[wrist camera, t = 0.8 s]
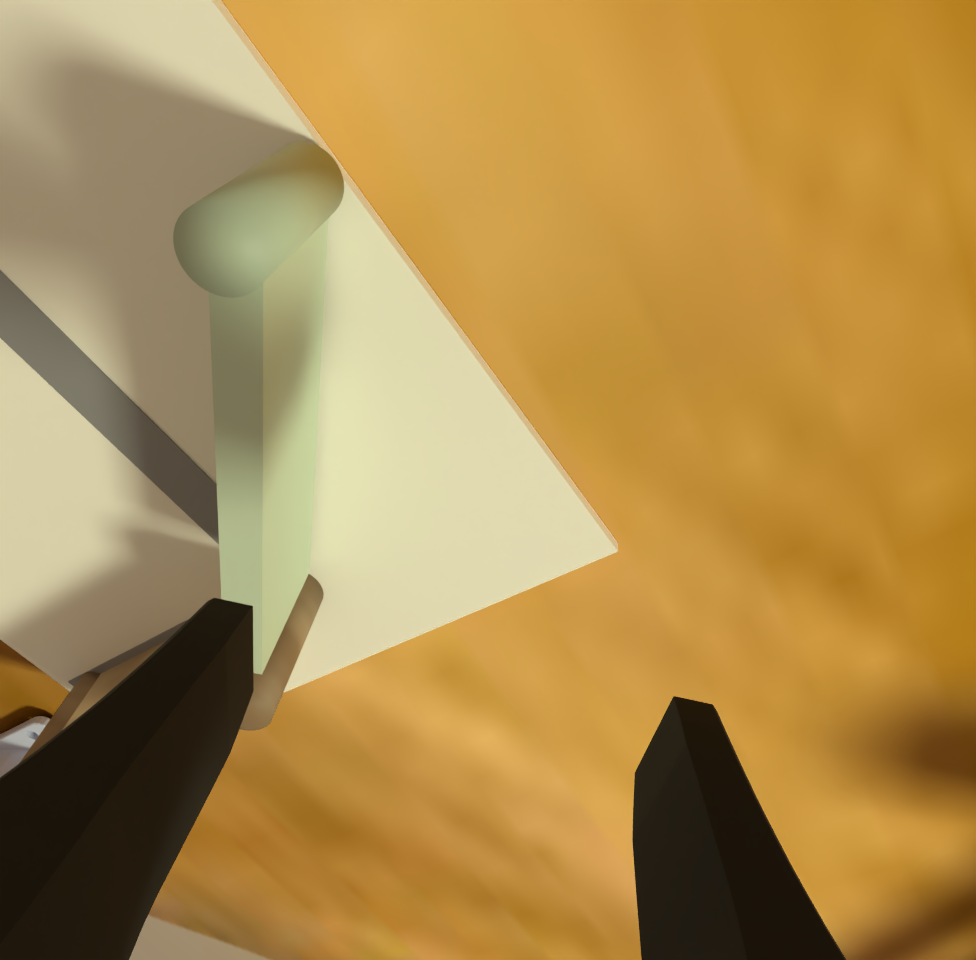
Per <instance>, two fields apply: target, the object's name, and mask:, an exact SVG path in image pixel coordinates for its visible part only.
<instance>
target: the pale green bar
mask: <svg viewBox="0 0 976 960" xmlns="http://www.w3.org/2000/svg"><path fill="white" fill-rule="evenodd" d="M343 194H344V181H343V176H342V173H341V170H340V168H339V166H338V164H337V163H336V161H335V160H334V159H333V157H332V156H331V155H330V154H329V153H328V152H326V151H325V150H324V149H322V148H321V147H319V146H317V145H314V144H311V143H307V142H296V143H292V144H289V145H287V146H285V147H284V148H282V149H281V150H279V151H277V152H276V153H274V154H273V155H271V156H269V157H268V158H266V159H265V160H263V161H261V162H260V163H258V164H257V165H255V166H253V167H252V168H250V169H249V170H247V171H245V172H244V173H242V174H241V175H239V176H237V177H236V178H234V179H233V180H231V181H229V182H228V183H226V184H225V185H223V186H221V187H220V188H218V189H217V190H215V191H213V192H212V193H210V194H209V195H207V196H206V197H204V198H202V199H201V200H199V201H198V202H196V203H194V204H193V205H191V206H190V207H188V208H187V209H185V210H184V211H183V212H182V213H181V215H180V216H179V218H178V219H177V222H176V224H175V227H174V233H173V243H174V249H175V253H176V256H177V258H178V261H179V263H180V265H181V266H182V268H183V269H184V271H185V272H186V274H187V275H188V276H189V277H190V278H191V279H192V280H193V281H194V282H195V283H196V284H197V285H199V286H200V287H201V288H203V289H204V290H206V291H208V292H209V311H210V336H211V360H212V384H213V409H214V433H215V457H216V482H217V506H218V530H219V555H220V579H221V599H223V600H228V601H232V602H237V603H242V604H246V605H251V606H253V673H256V674H261V675H262V673H263V671H264V669H265V667H266V665H267V663H268V661H269V658H270V656H271V654H272V652H273V650H274V648H275V645H276V643H277V641H278V639H279V637H280V635H281V632H282V630H283V628H284V626H285V624H286V622H287V620H288V617H289V615H290V613H291V611H292V609H293V607H294V604H295V602H296V600H297V598H298V596H299V594H300V591H301V589H302V587H303V585H304V583H305V581H306V578H307V576H308V574H309V572H310V556H311V537H312V519H313V500H314V482H315V463H316V444H317V426H318V407H319V389H320V370H321V351H322V333H323V314H324V296H325V277H326V259H327V240H328V221H329V217H330V216H331V215H332V214H333V213H334V212H335V211H336V210H337V208H338V207H339V205H340V203H341V201H342V198H343Z"/></svg>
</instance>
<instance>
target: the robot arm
mask: <svg viewBox="0 0 976 960" xmlns="http://www.w3.org/2000/svg"><path fill="white" fill-rule="evenodd" d="M253 691H254V681H253V606H251V605H246V604H242V603H237V602H232V601H228V600H223V599H218V598H213V599H211V600H209V601H207V602H206V603H205V604H204V605H203V606H202V607H201V608H200V609H199V610H198V611H197V612H196V613H195V614H194V615H193V616H192V617H191V618H190V619H189V620H188V621H187V622H186V623H185V624H184V625H183V626H181V627H180V628H179V629H178V630H177V631H176V632H175V633H174V634H173V635H172V636H171V637H170V638H169V639H168V640H167V641H166V642H165V643H164V644H162V645H161V646H160V647H159V648H158V649H157V650H156V651H155V652H154V653H153V654H152V655H150V656H149V657H148V658H147V659H146V660H145V661H144V662H143V663H142V664H141V665H139V666H138V667H137V668H136V669H135V670H134V671H133V672H131V673H130V674H129V675H128V676H127V677H126V678H125V679H123V680H122V681H121V682H120V683H119V684H118V685H116V686H115V687H114V688H113V689H112V690H111V691H110V692H108V693H107V694H106V695H105V696H104V697H103V698H101V699H100V700H99V701H98V702H97V703H96V704H94V705H93V706H92V707H91V708H90V709H88V710H87V711H86V712H85V713H83V714H82V715H81V716H80V717H78V718H77V719H76V720H75V721H73V722H72V723H71V724H69V725H68V726H67V727H66V728H64V729H63V730H62V731H61V732H59V733H58V734H57V735H56V736H54V737H53V738H52V739H51V740H49V741H48V742H47V743H46V744H44V745H43V746H42V747H40V748H39V749H38V750H37V751H35V752H34V753H33V754H31V755H30V756H29V757H27V758H26V759H25V760H23V761H22V762H21V763H20V761H21V760H22V759H23V757H24V756H25V754H26V753H27V752H28V750H29V749H30V747H31V746H32V745H33V743H34V742H35V740H36V739H37V738H38V736H39V735H40V733H41V732H42V731H43V729H44V728H45V726H46V725H47V723H48V722H49V721H50V718H47V717H44V716H37V717H34V718H32V719H30V720H28V721H26V722H24V723H22V724H20V725H18V726H16V727H14V728H12V729H10V730H8V731H6V732H4V733H2V734H0V960H129V958H130V956H131V953H132V951H133V948H134V946H135V944H136V941H137V939H138V936H139V933H140V931H141V929H142V927H143V924H144V922H145V920H146V918H147V916H148V914H149V912H150V910H151V907H152V905H153V903H154V901H155V899H156V897H157V895H158V893H159V891H160V889H161V887H162V885H163V883H164V881H165V879H166V877H167V875H168V873H169V871H170V869H171V867H172V865H173V863H174V862H175V860H176V858H177V856H178V854H179V852H180V850H181V848H182V846H183V844H184V842H185V840H186V838H187V836H188V834H189V832H190V831H191V829H192V827H193V825H194V823H195V821H196V819H197V817H198V815H199V813H200V811H201V809H202V807H203V805H204V803H205V801H206V799H207V797H208V796H209V794H210V792H211V790H212V788H213V786H214V784H215V782H216V780H217V778H218V776H219V774H220V772H221V770H222V768H223V766H224V764H225V762H226V760H227V758H228V756H229V754H230V752H231V749H232V747H233V744H234V741H235V739H236V736H237V734H238V731H239V729H240V726H241V723H242V721H243V718H244V715H245V713H246V710H247V707H248V705H249V702H250V699H251V697H252V694H253ZM633 852H634V866H635V880H636V893H637V906H638V919H639V931H640V944H641V956H642V960H846V958H845V957H844V955H843V954H842V952H841V950H840V949H839V947H838V946H837V944H836V942H835V941H834V939H833V937H832V936H831V934H830V932H829V931H828V929H827V927H826V926H825V924H824V922H823V920H822V919H821V917H820V915H819V913H818V912H817V910H816V908H815V907H814V905H813V903H812V901H811V900H810V898H809V896H808V894H807V893H806V891H805V889H804V887H803V886H802V884H801V882H800V880H799V878H798V876H797V875H796V873H795V871H794V869H793V867H792V865H791V864H790V862H789V860H788V858H787V856H786V854H785V852H784V850H783V848H782V846H781V844H780V843H779V841H778V839H777V837H776V835H775V833H774V831H773V829H772V827H771V825H770V823H769V821H768V819H767V817H766V815H765V813H764V811H763V809H762V807H761V805H760V803H759V801H758V799H757V797H756V795H755V793H754V791H753V789H752V787H751V785H750V783H749V780H748V778H747V776H746V774H745V772H744V770H743V768H742V766H741V763H740V761H739V759H738V757H737V755H736V753H735V750H734V748H733V746H732V744H731V742H730V739H729V737H728V735H727V733H726V731H725V728H724V726H723V724H722V722H721V719H720V717H719V715H718V713H717V711H716V709H715V708H714V706H713V705H712V704H708V703H703V702H698V701H694V700H689V699H684V698H680V697H675V696H674V697H673V699H672V701H671V703H670V705H669V707H668V709H667V711H666V713H665V715H664V716H663V718H662V720H661V722H660V724H659V726H658V728H657V730H656V732H655V734H654V736H653V738H652V740H651V742H650V744H649V746H648V748H647V750H646V752H645V754H644V756H643V758H642V760H641V762H640V764H639V766H638V768H637V770H636V772H635V785H634V807H633Z"/></svg>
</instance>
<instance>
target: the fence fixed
mask: <svg viewBox="0 0 976 960" xmlns="http://www.w3.org/2000/svg"><path fill="white" fill-rule="evenodd" d="M323 596H324V593H323V589H322V587H321V585H320V583H319V582H318V581H317V580H316V579H315V578H314V577H313V576H312V575H310V574H308V576H307V578H306V581H305V583H304V585H303V587H302V589H301V591H300V594H299V596H298V598H297V600H296V602H295V604H294V607H293V609H292V611H291V613H290V615H289V617H288V620H287V622H286V624H285V626H284V628H283V630H282V632H281V635H280V637H279V639H278V641H277V643H276V645H275V648H274V650H273V652H272V654H271V656H270V658H269V661H268V663H267V665H266V667H265V669H264V671H263V673H262V675H261V674H256V673H253V681H254V691H253V694H252V697H251V699H250V702H249V705H248V707H247V710H246V713H245V715H244V718H243V721H242V723H241V726H240V729H241V730H259V729H262V728H264V727H266V726H268V725H269V724H270V722H271V720H272V718H273V716H274V713H275V711H276V709H277V706H278V704H279V702H280V699H281V697H282V694H283V692H284V690H285V687H286V685H287V683H288V680H289V678H290V676H291V673H292V671H293V669H294V666H295V664H296V661H297V659H298V657H299V654H300V652H301V650H302V647H303V645H304V643H305V640H306V638H307V635H308V633H309V631H310V628H311V626H312V624H313V621H314V619H315V617H316V614H317V612H318V609H319V607H320V605H321V602H322V600H323ZM166 641H167V640H166ZM166 641H164V642H162V643H160V644H158V645H156V646H154V647H152V648H150V649H148V650H146V651H144V652H142V653H140V654H138V655H136V656H134V657H132V658H130V659H128V660H126V661H124V662H123V663H121V664H119V665H117V666H115V667H113V668H111V669H109V670H107V671H105V672H103V673H97V672H88V673H85V674H83V675H82V676H81V677H80V679H79V680H78V681H77V683H76V684H75V686H74V687H73V688H72V690H71V691H70V693H69V694H68V695H67V697H66V698H65V700H64V701H63V702H62V704H61V705H60V707H59V708H58V709H57V711H56V712H55V714H54V715H53V716H52V718H51V719H50V721H49V722H48V723H47V725H46V726H45V728H44V729H43V731H42V732H41V733H40V735H39V736H38V738H37V739H36V740H35V742H34V743H33V745H32V746H31V747H30V749H29V750H28V752H27V753H26V754H25V756H24V757H23V759H22V760H21V761H20V763H21V762H22V761H23V760H25V759H26V758H27V757H29V756H30V755H31V754H33V753H34V752H35V751H37V750H38V749H39V748H40V747H42V746H43V745H44V744H46V743H47V742H48V741H49V740H51V739H52V738H53V737H54V736H56V735H57V734H58V733H59V732H61V731H62V730H63V729H64V728H66V727H67V726H68V725H69V724H71V723H72V722H73V721H75V720H76V719H77V718H78V717H80V716H81V715H82V714H83V713H85V712H86V711H87V710H88V709H90V708H91V707H92V706H93V705H94V704H96V703H97V702H98V701H99V700H100V699H101V698H103V697H104V696H105V695H106V694H107V693H108V692H110V691H111V690H112V689H113V688H114V687H115V686H116V685H118V684H119V683H120V682H121V681H122V680H123V679H125V678H126V677H127V676H128V675H129V674H130V673H131V672H133V671H134V670H135V669H136V668H137V667H138V666H139V665H141V664H142V663H143V662H144V661H145V660H146V659H147V658H148V657H149V656H150V655H152V654H153V653H154V652H155V651H156V650H157V649H158V648H159V647H160V646H161V645H162V644H164V643H165V642H166Z"/></svg>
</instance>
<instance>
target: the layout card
mask: <svg viewBox="0 0 976 960" xmlns="http://www.w3.org/2000/svg"><path fill="white" fill-rule="evenodd" d="M296 142H307V143H311V144H314V145H317V146H319V147H321V148H322V149H324V150H325V151H326V152H328V153H329V154H330V155H331V156H332V157H333V159H334V160H335V161H336V163H337V164H338V166H339V168H340V170H341V173H342V176H343V181H344V194H343V198H342V201H341V203H340V205H339V207H338V208H337V210H336V211H335V212H334V213H333V214H332V215H331V216H330V217H329V221H328V240H327V259H326V277H325V296H324V314H323V333H322V351H321V370H320V389H319V407H318V426H317V444H316V463H315V482H314V500H313V519H312V537H311V556H310V572H309V574H310V575H312V576H313V577H314V578H315V579H316V580H317V581H318V582H319V583H320V585H321V587H322V589H323V593H324V596H323V600H322V602H321V605H320V607H319V609H318V612H317V614H316V617H315V619H314V621H313V624H312V626H311V628H310V631H309V633H308V635H307V638H306V640H305V643H304V645H303V647H302V650H301V652H300V654H299V657H298V659H297V661H296V664H295V666H294V669H293V671H292V673H291V676H290V678H289V680H288V683H287V685H286V687H285V690H284V692H286V691H289V690H291V689H294V688H296V687H298V686H301V685H303V684H305V683H308V682H310V681H312V680H315V679H317V678H320V677H322V676H324V675H327V674H329V673H331V672H334V671H336V670H338V669H341V668H343V667H346V666H348V665H350V664H353V663H355V662H357V661H360V660H362V659H365V658H367V657H369V656H372V655H374V654H376V653H379V652H381V651H383V650H386V649H388V648H391V647H393V646H395V645H398V644H400V643H402V642H405V641H407V640H409V639H412V638H414V637H417V636H419V635H421V634H424V633H426V632H428V631H431V630H433V629H436V628H438V627H440V626H443V625H445V624H447V623H450V622H452V621H454V620H457V619H459V618H462V617H464V616H466V615H469V614H471V613H473V612H476V611H478V610H481V609H483V608H485V607H488V606H490V605H492V604H495V603H497V602H499V601H502V600H504V599H507V598H509V597H511V596H514V595H516V594H518V593H521V592H523V591H525V590H528V589H530V588H533V587H535V586H537V585H540V584H542V583H544V582H547V581H549V580H552V579H554V578H556V577H559V576H561V575H563V574H566V573H568V572H570V571H573V570H575V569H578V568H580V567H582V566H585V565H587V564H589V563H592V562H594V561H597V560H599V559H601V558H604V557H606V556H608V555H611V554H613V553H615V552H618V542H617V541H616V540H615V538H614V537H613V535H612V534H611V533H610V531H609V530H608V529H607V527H606V526H605V525H604V523H603V522H602V520H601V519H600V518H599V516H598V515H597V514H596V512H595V511H594V509H593V508H592V507H591V505H590V504H589V503H588V501H587V500H586V499H585V497H584V496H583V494H582V493H581V492H580V490H579V489H578V488H577V486H576V485H575V484H574V482H573V481H572V479H571V478H570V477H569V475H568V474H567V473H566V471H565V470H564V468H563V467H562V466H561V464H560V463H559V462H558V460H557V459H556V458H555V456H554V455H553V453H552V452H551V451H550V449H549V448H548V447H547V445H546V444H545V443H544V441H543V440H542V438H541V437H540V436H539V434H538V433H537V432H536V430H535V429H534V427H533V426H532V425H531V423H530V422H529V421H528V419H527V418H526V417H525V415H524V414H523V412H522V411H521V410H520V408H519V407H518V406H517V404H516V403H515V402H514V400H513V399H512V397H511V396H510V395H509V393H508V392H507V391H506V389H505V388H504V386H503V385H502V384H501V382H500V381H499V380H498V378H497V377H496V376H495V374H494V373H493V371H492V370H491V369H490V367H489V366H488V365H487V363H486V362H485V361H484V359H483V358H482V356H481V355H480V354H479V352H478V351H477V350H476V348H475V347H474V345H473V344H472V343H471V341H470V340H469V339H468V337H467V336H466V335H465V333H464V332H463V330H462V329H461V328H460V326H459V325H458V324H457V322H456V321H455V319H454V318H453V317H452V315H451V314H450V313H449V311H448V310H447V309H446V307H445V306H444V304H443V303H442V302H441V300H440V299H439V298H438V296H437V295H436V294H435V292H434V291H433V289H432V288H431V287H430V285H429V284H428V283H427V281H426V280H425V278H424V277H423V276H422V274H421V273H420V272H419V270H418V269H417V268H416V266H415V265H414V263H413V262H412V261H411V259H410V258H409V257H408V255H407V254H406V253H405V251H404V250H403V248H402V247H401V246H400V244H399V243H398V242H397V240H396V239H395V237H394V236H393V235H392V233H391V232H390V231H389V229H388V228H387V227H386V225H385V224H384V222H383V221H382V220H381V218H380V217H379V216H378V214H377V213H376V212H375V210H374V209H373V207H372V206H371V205H370V203H369V202H368V201H367V199H366V198H365V196H364V195H363V194H362V192H361V191H360V190H359V188H358V187H357V186H356V184H355V183H354V181H353V180H352V179H351V177H350V176H349V175H348V173H347V172H346V171H345V169H344V168H343V166H342V165H341V164H340V162H339V161H338V160H337V158H336V157H335V155H334V154H333V153H332V151H331V150H330V149H329V147H328V146H327V145H326V143H325V142H324V140H323V139H322V138H321V136H320V135H319V134H318V132H317V131H316V130H315V128H314V127H313V125H312V124H311V123H310V121H309V120H308V119H307V117H306V116H305V114H304V113H303V112H302V110H301V109H300V108H299V106H298V105H297V104H296V102H295V101H294V99H293V98H292V97H291V95H290V94H289V93H288V91H287V90H286V88H285V87H284V86H283V84H282V83H281V82H280V80H279V79H278V78H277V76H276V75H275V73H274V72H273V71H272V69H271V68H270V67H269V65H268V64H267V63H266V61H265V60H264V58H263V57H262V56H261V54H260V53H259V52H258V50H257V49H256V47H255V46H254V45H253V43H252V42H251V41H250V39H249V38H248V37H247V35H246V34H245V32H244V31H243V30H242V28H241V27H240V26H239V24H238V23H237V22H236V20H235V19H234V17H233V16H232V15H231V13H230V12H229V11H228V9H227V8H226V6H225V5H224V4H223V2H222V1H221V0H0V640H2V641H3V642H4V643H6V644H7V645H8V646H10V647H11V648H12V649H14V650H15V651H16V652H18V653H19V654H20V655H22V656H23V657H24V658H26V659H27V660H28V661H30V662H31V663H32V664H34V665H35V666H36V667H38V668H39V669H40V670H42V671H43V672H44V673H46V674H47V675H48V676H50V677H51V678H52V679H54V680H55V681H56V682H58V683H59V684H60V685H62V686H63V687H64V688H66V689H67V690H68V691H71V690H72V688H73V687H74V686H75V684H76V683H77V681H78V680H79V679H80V677H81V676H82V675H83V674H85V673H88V672H97V673H103V672H105V671H107V670H109V669H111V668H113V667H115V666H117V665H119V664H121V663H123V662H124V661H126V660H128V659H130V658H132V657H134V656H136V655H138V654H140V653H142V652H144V651H146V650H148V649H150V648H152V647H154V646H156V645H158V644H160V643H162V642H164V641H166V640H168V639H169V638H170V637H171V636H172V635H173V634H174V633H175V632H176V631H177V630H178V629H179V628H180V627H181V626H183V625H184V624H185V623H186V622H187V621H188V620H189V619H190V618H191V617H192V616H193V615H194V614H195V613H196V612H197V611H198V610H199V609H200V608H201V607H202V606H203V605H204V604H205V603H206V602H207V601H209V600H211V599H213V598H218V599H221V579H220V555H219V530H218V506H217V482H216V457H215V433H214V409H213V384H212V360H211V336H210V311H209V292H208V291H206V290H204V289H203V288H201V287H200V286H199V285H197V284H196V283H195V282H194V281H193V280H192V279H191V278H190V277H189V276H188V275H187V274H186V272H185V271H184V269H183V268H182V266H181V265H180V263H179V261H178V258H177V256H176V253H175V249H174V243H173V233H174V227H175V224H176V222H177V219H178V218H179V216H180V215H181V213H182V212H183V211H184V210H185V209H187V208H188V207H190V206H191V205H193V204H194V203H196V202H198V201H199V200H201V199H202V198H204V197H206V196H207V195H209V194H210V193H212V192H213V191H215V190H217V189H218V188H220V187H221V186H223V185H225V184H226V183H228V182H229V181H231V180H233V179H234V178H236V177H237V176H239V175H241V174H242V173H244V172H245V171H247V170H249V169H250V168H252V167H253V166H255V165H257V164H258V163H260V162H261V161H263V160H265V159H266V158H268V157H269V156H271V155H273V154H274V153H276V152H277V151H279V150H281V149H282V148H284V147H285V146H287V145H289V144H292V143H296ZM284 692H283V693H284Z"/></svg>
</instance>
